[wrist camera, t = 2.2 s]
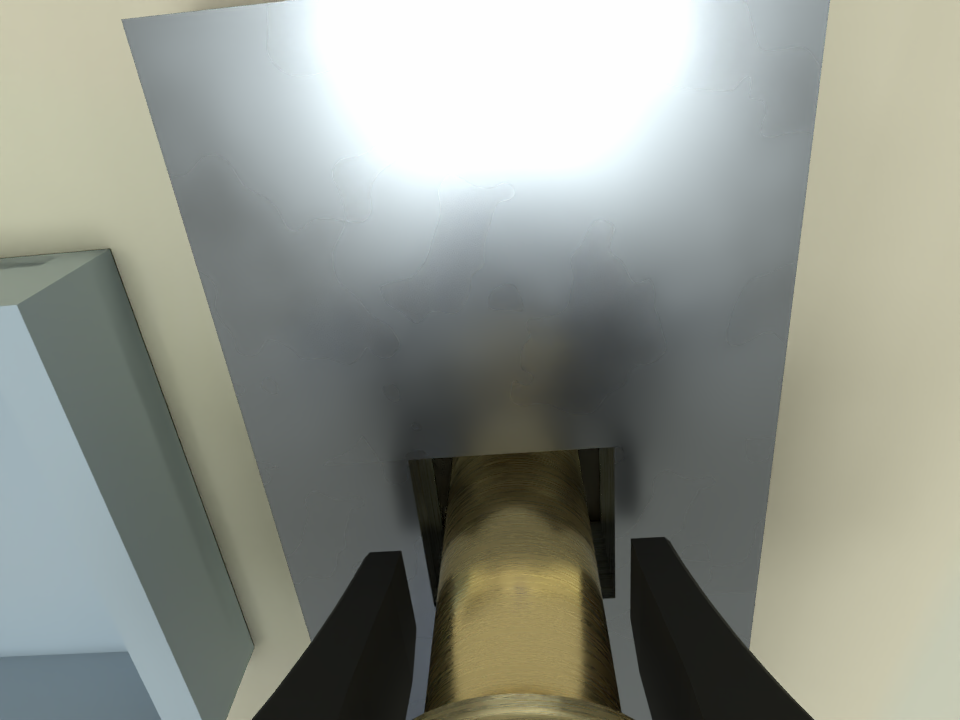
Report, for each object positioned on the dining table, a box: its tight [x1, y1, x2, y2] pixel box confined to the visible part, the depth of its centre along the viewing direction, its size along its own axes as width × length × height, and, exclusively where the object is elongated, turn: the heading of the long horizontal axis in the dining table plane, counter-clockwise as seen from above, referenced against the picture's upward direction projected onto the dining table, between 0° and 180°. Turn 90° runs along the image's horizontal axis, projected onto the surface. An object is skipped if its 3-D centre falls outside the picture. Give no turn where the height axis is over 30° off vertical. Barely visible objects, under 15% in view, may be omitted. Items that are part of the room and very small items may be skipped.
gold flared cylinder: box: [412, 449, 635, 720], centre depth 12 cm, size 4×4×9 cm
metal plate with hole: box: [121, 0, 830, 720], centre depth 15 cm, size 20×10×2 cm, turn 6°
